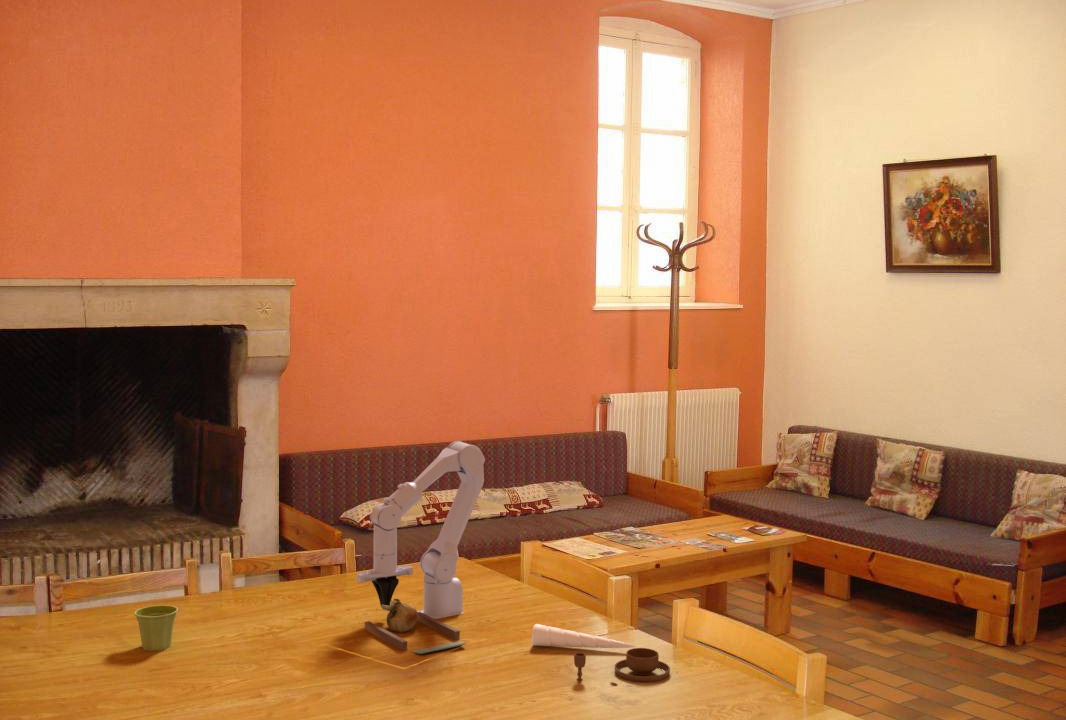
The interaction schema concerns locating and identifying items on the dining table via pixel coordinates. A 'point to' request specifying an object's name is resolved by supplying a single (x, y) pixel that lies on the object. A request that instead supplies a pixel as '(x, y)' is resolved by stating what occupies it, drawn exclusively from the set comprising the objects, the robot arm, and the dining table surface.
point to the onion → (400, 616)
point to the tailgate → (438, 647)
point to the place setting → (632, 665)
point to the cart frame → (402, 643)
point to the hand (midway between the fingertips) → (385, 607)
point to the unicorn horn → (571, 639)
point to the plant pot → (156, 626)
